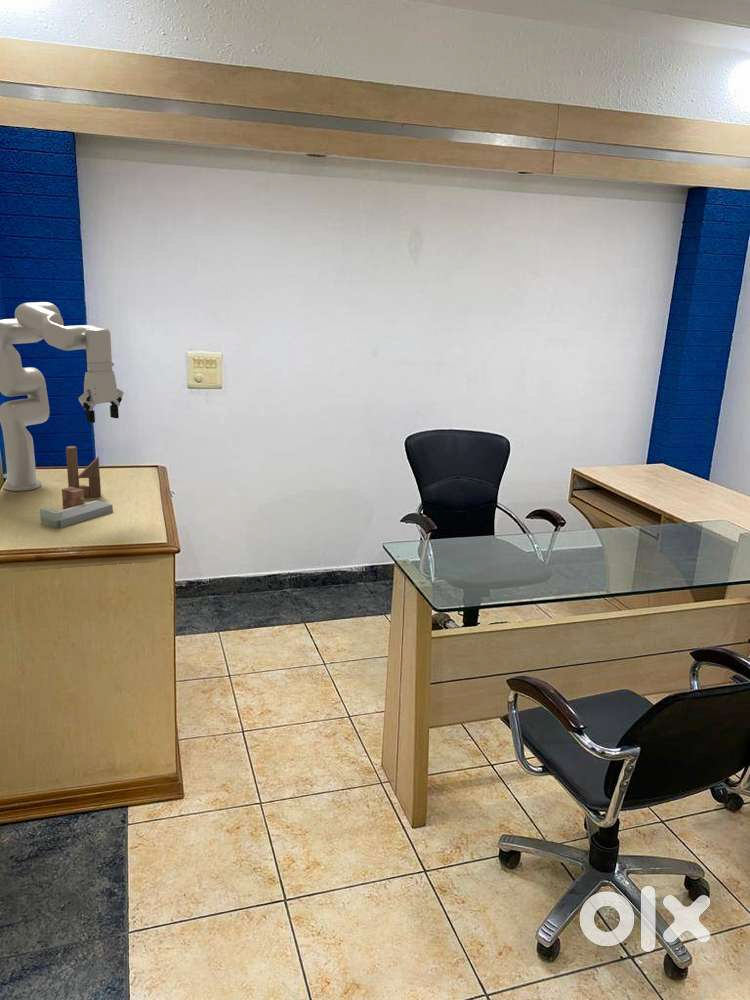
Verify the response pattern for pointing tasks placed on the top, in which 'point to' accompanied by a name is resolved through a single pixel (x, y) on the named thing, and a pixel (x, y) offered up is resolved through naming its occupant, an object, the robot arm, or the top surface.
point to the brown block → (72, 497)
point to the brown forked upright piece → (83, 474)
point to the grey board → (74, 514)
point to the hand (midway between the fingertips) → (103, 420)
